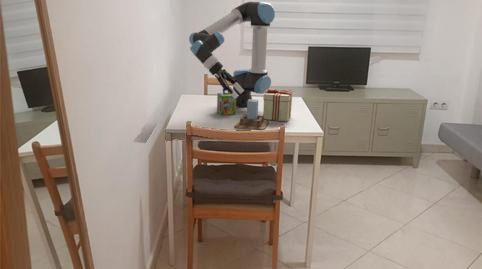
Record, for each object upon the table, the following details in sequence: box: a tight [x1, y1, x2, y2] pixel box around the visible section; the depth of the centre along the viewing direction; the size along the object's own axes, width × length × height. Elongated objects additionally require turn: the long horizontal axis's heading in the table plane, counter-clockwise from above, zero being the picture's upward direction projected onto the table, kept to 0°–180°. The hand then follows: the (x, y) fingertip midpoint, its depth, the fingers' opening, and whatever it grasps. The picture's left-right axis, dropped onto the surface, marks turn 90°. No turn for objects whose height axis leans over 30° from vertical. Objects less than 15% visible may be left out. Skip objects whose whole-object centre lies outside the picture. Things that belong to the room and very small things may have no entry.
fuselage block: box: [246, 98, 259, 120], centre depth 241 cm, size 5×5×13 cm
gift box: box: [262, 87, 294, 122], centre depth 259 cm, size 17×18×17 cm
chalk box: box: [216, 88, 237, 116], centre depth 265 cm, size 9×9×15 cm
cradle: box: [234, 113, 270, 131], centre depth 243 cm, size 16×16×4 cm
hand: (239, 94), depth 240 cm, fingers open, 13 cm apart
